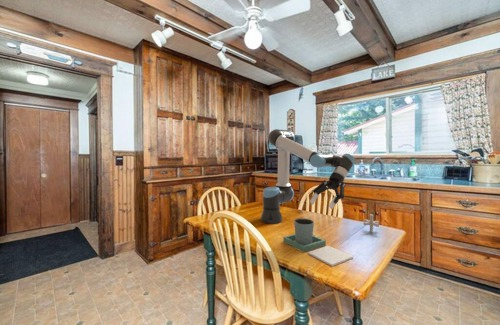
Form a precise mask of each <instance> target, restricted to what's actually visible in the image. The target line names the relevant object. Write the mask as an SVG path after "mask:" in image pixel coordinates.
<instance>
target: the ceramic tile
mask: <svg viewBox="0 0 500 325" xmlns="http://www.w3.org/2000/svg"><path fill="white" fill-rule="evenodd" d="M307 254H308V255H309V256H312V257H314V258H315V259H317V260H319V261H321V262H323V263H324V264H326V265H329V266H330V267H334V266H337V265H340V264H342V263H345V262H347V261H349V260H352V259H354V256H353V255H351V254H348V253H346V252H344V251H342V250H339V249H337V248H334V247H332V246H331V245H325V246H322V247H319V248H315V249H312V250H309V251H307Z"/></svg>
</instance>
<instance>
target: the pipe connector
mask: <svg viewBox="0 0 500 325" xmlns="http://www.w3.org/2000/svg"><path fill="white" fill-rule="evenodd" d="M362 224H363V226H369V232H370V231H373V232H374V227H376V228H379V227H380V221H379V220H374V214H369V219H366V218H364V219H363V223H362Z"/></svg>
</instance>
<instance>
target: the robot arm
mask: <svg viewBox="0 0 500 325" xmlns="http://www.w3.org/2000/svg"><path fill="white" fill-rule="evenodd" d="M267 139H268V142H269V144H270V145H272V146H273V147H275V149H276V150H277V183H275V185H274V186H268V187H267V186H266V187H264V188H263V190H262V212H261V216H260V221H261V222H262V223H264V224H269V225H270V224H279V223H282V222H283V217H282V213H281V211H280V207H281V206H280V205H281V204H284V203H285V204H286V203H289V202H291V201H292V200H293V198H294V196H295V192H294V189H293V188H292V184H291V183H290V161H291V160H290V154H293V155H294V156H296V157H298V158H300V159H302V160H304V161H306V162H308V163H309V164H310V165H311V166H312V167H314V168H325V167H332V168H334V169H333V170H332V172H331V174H330V176H329V179H328V180H326V179H324V180H323V181H322V182H321V183H320V184H319V185H318V186H316V187H315V188H314V189H313V190H312V193H313V195H312V196H311V199H310V200H309V203H310V204H311V205H314V204H315V202H316V201H317V198H319V195H320V194H322V193H324V192H326V191H329V190H333V191H334V192H335V195H334V196H333V198H332V199H331V202H330V203H329V205H328V207H329V208H330V209H331V210H333V209H334V207H335V206H336V204H338V202H339V200H341V199H342V200H344V199H345V188H346V184H345V183H344V180H345V179H346V177H347V175H348V174H349V172H350V170H351V169H352V167H353V166H354V163H355V162H356V158H355V156H354V155H353V154H351V153H344V154H343V155H342V156H341V155H336V154H333V153H330V152H322V153H320V152H318V151H316V150H313V149H311V148H310V147H307V146H305V145H303V144H301V143H299V142H296V136H295V134H294V133H293V131H291V130H287V129H272V130H271V131H270V132H269V134H268V136H267Z"/></svg>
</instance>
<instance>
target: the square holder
mask: <svg viewBox="0 0 500 325" xmlns="http://www.w3.org/2000/svg"><path fill="white" fill-rule="evenodd" d="M282 239H283V243H286V244H287V245H289V246H291V247H293V248H295V249H296V250H298V251H300V252H303V253H306V252H310V251H313V250H316V249H319V248H322V247H326V246H327V244H326V243H327V242H326V240H325V239H323V238H320V237H318V236H316V235H313V236H312V243H311V244H308V245H304V246H303V245H301V244H299V243H297V242H295V233H294V234H291V235H287V236H283V238H282Z"/></svg>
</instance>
